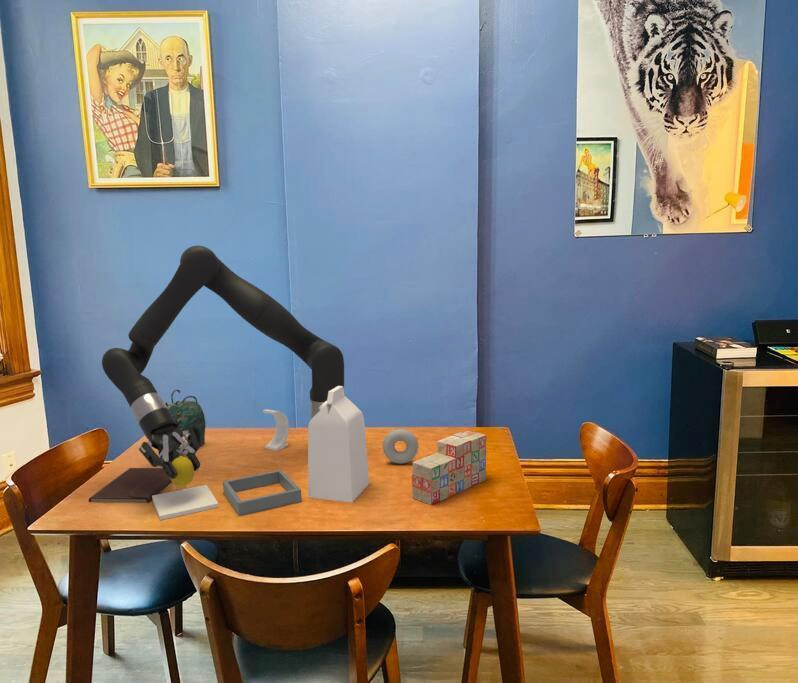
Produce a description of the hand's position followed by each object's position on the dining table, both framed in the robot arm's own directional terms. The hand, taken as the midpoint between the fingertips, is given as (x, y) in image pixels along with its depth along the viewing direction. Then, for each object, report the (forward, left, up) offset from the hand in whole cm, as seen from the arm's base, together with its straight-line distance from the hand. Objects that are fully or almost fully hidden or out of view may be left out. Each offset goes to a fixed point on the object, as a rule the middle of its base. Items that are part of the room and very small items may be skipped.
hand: (186, 472), depth 144 cm
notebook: (+9, -19, -9) cm, 23 cm away
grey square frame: (-16, +4, -8) cm, 19 cm away
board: (+1, -2, -8) cm, 8 cm away
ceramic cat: (-5, -39, -8) cm, 40 cm away
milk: (-34, +10, -8) cm, 37 cm away
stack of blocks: (-59, +24, -9) cm, 64 cm away
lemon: (+1, -2, -4) cm, 5 cm away
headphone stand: (-31, -30, -8) cm, 44 cm away
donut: (-56, +2, -8) cm, 57 cm away
